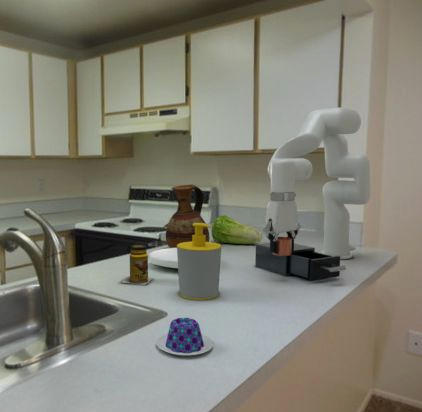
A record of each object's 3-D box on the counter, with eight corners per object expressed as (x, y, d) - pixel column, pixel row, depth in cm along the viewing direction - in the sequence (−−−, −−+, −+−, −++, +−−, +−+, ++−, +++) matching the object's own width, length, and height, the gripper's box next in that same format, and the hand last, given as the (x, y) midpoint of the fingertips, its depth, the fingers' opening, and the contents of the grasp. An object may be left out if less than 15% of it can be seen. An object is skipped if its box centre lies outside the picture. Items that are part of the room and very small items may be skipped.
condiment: (145, 285, 131) (145, 248, 130) (120, 283, 134) (120, 247, 133) (152, 279, 138) (151, 244, 137) (128, 277, 141) (128, 243, 140)
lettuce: (262, 247, 204) (255, 256, 191) (215, 236, 214) (206, 243, 201) (267, 220, 200) (260, 227, 188) (219, 210, 211) (210, 216, 198)
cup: (282, 251, 139) (282, 235, 138) (295, 254, 134) (295, 238, 133) (268, 253, 136) (268, 237, 136) (281, 256, 131) (281, 240, 130)
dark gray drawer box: (314, 271, 146) (314, 247, 146) (285, 276, 141) (286, 251, 140) (282, 262, 160) (283, 240, 160) (255, 266, 155) (255, 244, 154)
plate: (155, 245, 174) (219, 247, 168) (155, 260, 174) (219, 263, 168) (142, 251, 146) (217, 254, 141) (141, 269, 146) (217, 273, 141)
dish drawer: (352, 280, 132) (353, 259, 131) (324, 285, 126) (325, 263, 126) (305, 267, 149) (306, 248, 148) (279, 271, 144) (280, 252, 143)
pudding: (150, 337, 91) (150, 314, 90) (201, 331, 94) (201, 309, 93) (164, 362, 79) (164, 336, 79) (222, 355, 82) (222, 329, 82)
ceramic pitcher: (156, 249, 188) (156, 184, 185) (186, 243, 202) (186, 183, 199) (188, 256, 174) (188, 185, 171) (218, 249, 187) (218, 184, 184)
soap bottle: (210, 303, 113) (210, 227, 111) (169, 296, 120) (168, 224, 118) (227, 291, 124) (228, 222, 122) (188, 285, 131) (188, 219, 129)
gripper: (293, 195, 140) (293, 246, 142) (253, 198, 133) (253, 252, 135) (311, 196, 133) (310, 250, 135) (270, 199, 126) (269, 257, 128)
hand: (281, 251), depth 135 cm, fingers closed on cup, 6 cm apart
